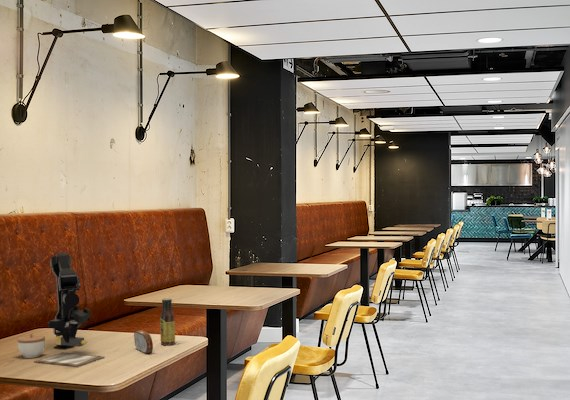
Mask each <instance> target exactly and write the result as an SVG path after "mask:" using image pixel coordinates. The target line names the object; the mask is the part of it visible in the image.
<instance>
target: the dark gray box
mask: <svg viewBox="0 0 570 400" xmlns="http://www.w3.org/2000/svg"><path fill="white" fill-rule="evenodd" d="M55 343H56V344H55V345H67V346H73V347H78V348H79V347H82V346H85V345H87V343H88V341H87V340H85V338H84V337H81V336H75V337H70V336H69V342H68V343H66V342H65V340H64V338H63V336H62V335H61V336H58V337H56V336H55Z"/></svg>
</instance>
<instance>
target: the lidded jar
mask: <svg viewBox="0 0 570 400" xmlns="http://www.w3.org/2000/svg"><path fill="white" fill-rule="evenodd" d="M45 345H46V337H45V335H42V334H33V333H29V335H24V336H20V337H18V338H17V347H18V351H19V353H20V355H22V356H23V358H24V359H33V358H38V357H40V356H41V354H42V353H44V349H45V347H46V346H45Z"/></svg>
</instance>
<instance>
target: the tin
mask: <svg viewBox="0 0 570 400" xmlns="http://www.w3.org/2000/svg"><path fill="white" fill-rule="evenodd" d="M133 339H134V346H135V348H136V349H137V351H139V352H141V353H142V354H151V353H152V352H153V350H154V343H153V338H152V336H151V334H150V333H149V332H147V331H145V330H143V329H139V330H137V331H135V332H134V333H133Z"/></svg>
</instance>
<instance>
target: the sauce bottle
mask: <svg viewBox="0 0 570 400" xmlns="http://www.w3.org/2000/svg"><path fill="white" fill-rule="evenodd" d="M172 301H173V300H172V298H170V297H168V298H167V297H166V298H162V299H161V303H162V311H161V313H160V316H159V325H160V326H159V329H160V330H159V331H160V334H159V335H160V344H161V345H162V346H173V345H175V344H176V321H175V320H176V319H175V312H174V311H173V310H172Z"/></svg>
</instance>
